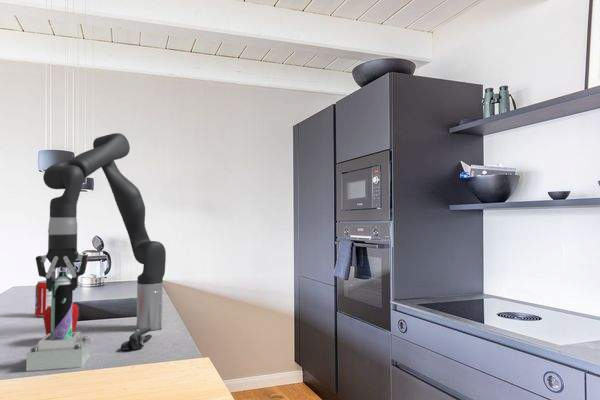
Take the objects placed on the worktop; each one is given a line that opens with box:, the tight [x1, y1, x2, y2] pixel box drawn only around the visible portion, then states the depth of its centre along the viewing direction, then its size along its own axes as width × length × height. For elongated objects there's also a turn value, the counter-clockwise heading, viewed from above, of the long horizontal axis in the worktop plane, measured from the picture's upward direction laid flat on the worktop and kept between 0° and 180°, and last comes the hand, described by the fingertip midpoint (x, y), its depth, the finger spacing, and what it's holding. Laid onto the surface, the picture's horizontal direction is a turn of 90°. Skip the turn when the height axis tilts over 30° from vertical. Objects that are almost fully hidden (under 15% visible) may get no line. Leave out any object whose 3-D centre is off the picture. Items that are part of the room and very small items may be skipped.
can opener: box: [120, 328, 153, 351], centre depth 149 cm, size 18×7×6 cm, turn 178°
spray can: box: [51, 271, 74, 340], centre depth 130 cm, size 6×6×20 cm
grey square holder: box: [25, 331, 92, 372], centre depth 130 cm, size 14×12×8 cm
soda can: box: [34, 279, 52, 318], centre depth 192 cm, size 8×8×15 cm
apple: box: [42, 302, 80, 336], centre depth 153 cm, size 11×10×14 cm
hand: (62, 290), depth 131 cm, fingers closed on spray can, 5 cm apart
